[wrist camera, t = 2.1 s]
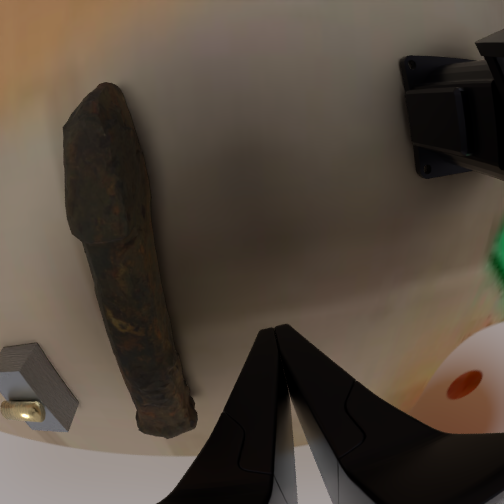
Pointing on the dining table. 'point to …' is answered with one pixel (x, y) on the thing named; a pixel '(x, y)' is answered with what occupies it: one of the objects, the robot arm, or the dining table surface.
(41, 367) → the end link
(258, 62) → the dining table surface
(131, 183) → the hand tool
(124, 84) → the dining table surface
